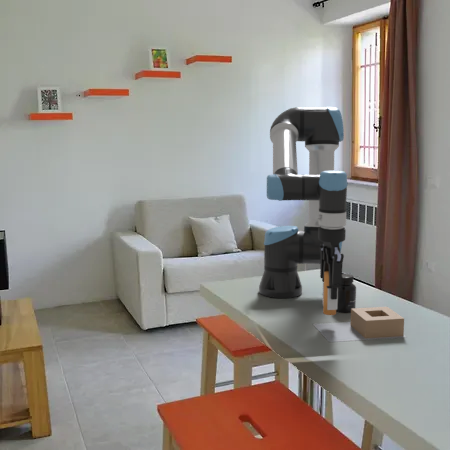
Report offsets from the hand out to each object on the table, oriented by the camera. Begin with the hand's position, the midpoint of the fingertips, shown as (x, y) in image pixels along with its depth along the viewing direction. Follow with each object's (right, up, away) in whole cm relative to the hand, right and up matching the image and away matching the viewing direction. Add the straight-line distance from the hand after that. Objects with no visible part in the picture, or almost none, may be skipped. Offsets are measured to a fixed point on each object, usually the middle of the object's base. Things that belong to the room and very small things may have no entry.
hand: (329, 306), depth 169 cm
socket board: (+8, -7, -2) cm, 11 cm away
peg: (0, -2, 0) cm, 2 cm away
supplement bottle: (+8, -4, +17) cm, 19 cm away
